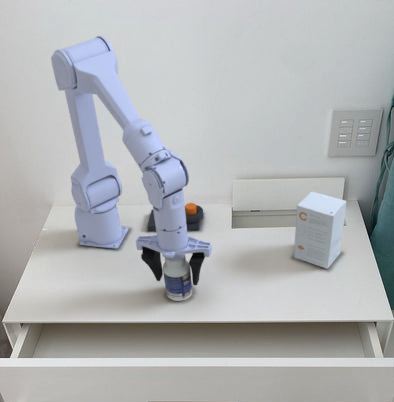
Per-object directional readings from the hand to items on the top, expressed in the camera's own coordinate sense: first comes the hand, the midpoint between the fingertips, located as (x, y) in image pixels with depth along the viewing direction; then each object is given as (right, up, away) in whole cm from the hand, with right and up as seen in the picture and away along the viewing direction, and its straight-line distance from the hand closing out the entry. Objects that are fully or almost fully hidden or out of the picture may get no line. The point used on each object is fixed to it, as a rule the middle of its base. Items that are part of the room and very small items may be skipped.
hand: (177, 280), depth 115 cm
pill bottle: (0, -2, +3) cm, 4 cm away
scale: (-1, +16, +20) cm, 26 cm away
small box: (+30, +6, +8) cm, 31 cm away
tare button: (+2, +18, +18) cm, 26 cm away
